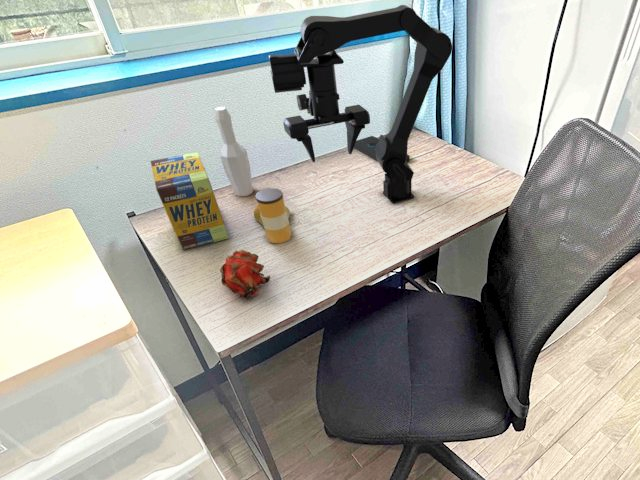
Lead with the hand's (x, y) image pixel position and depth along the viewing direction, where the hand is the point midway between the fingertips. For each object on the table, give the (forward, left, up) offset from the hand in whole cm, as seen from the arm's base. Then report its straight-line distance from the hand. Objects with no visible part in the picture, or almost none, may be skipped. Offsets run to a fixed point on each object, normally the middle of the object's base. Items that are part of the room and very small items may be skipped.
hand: (332, 157), depth 102 cm
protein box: (+33, -6, -13) cm, 36 cm away
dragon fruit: (+28, +22, -13) cm, 38 cm away
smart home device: (-23, -23, -13) cm, 35 cm away
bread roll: (+17, -2, -13) cm, 21 cm away
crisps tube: (+17, +6, -13) cm, 23 cm away
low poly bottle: (+20, -19, -13) cm, 31 cm away
